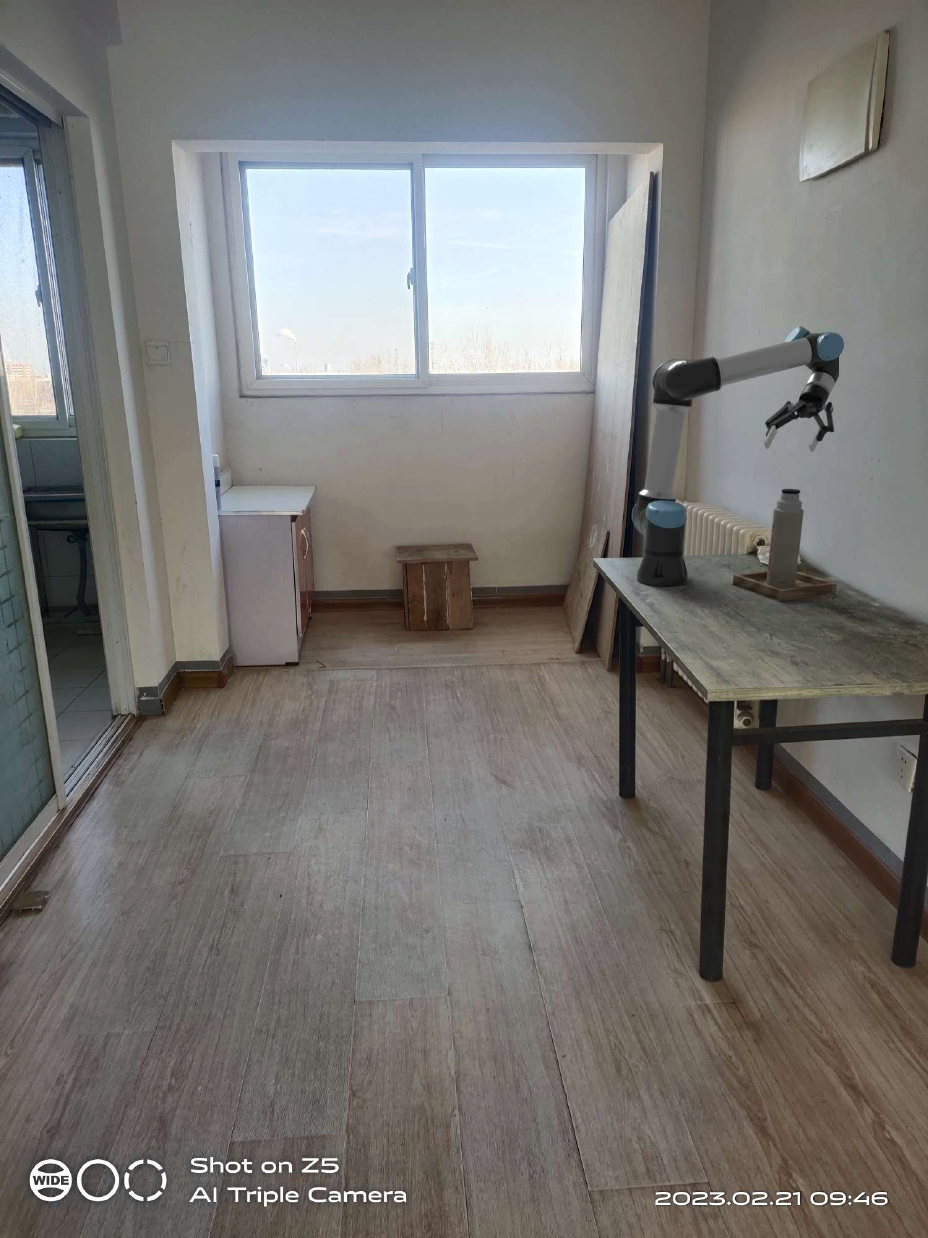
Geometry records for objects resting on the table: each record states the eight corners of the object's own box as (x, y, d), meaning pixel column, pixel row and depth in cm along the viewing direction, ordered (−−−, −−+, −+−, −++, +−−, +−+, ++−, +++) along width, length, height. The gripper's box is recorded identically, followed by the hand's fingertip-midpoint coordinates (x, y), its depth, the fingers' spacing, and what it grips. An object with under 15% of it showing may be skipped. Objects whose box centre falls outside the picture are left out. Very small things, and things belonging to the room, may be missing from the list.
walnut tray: (732, 584, 249) (733, 574, 248) (785, 577, 256) (786, 568, 255) (780, 601, 231) (781, 591, 231) (835, 593, 239) (836, 583, 238)
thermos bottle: (763, 586, 243) (773, 490, 235) (769, 580, 249) (779, 486, 241) (792, 590, 239) (803, 492, 231) (797, 583, 245) (808, 488, 237)
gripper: (861, 401, 243) (833, 458, 237) (779, 399, 260) (751, 452, 254) (856, 383, 237) (827, 440, 232) (773, 382, 255) (744, 435, 249)
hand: (787, 447), depth 243 cm, fingers open, 13 cm apart
